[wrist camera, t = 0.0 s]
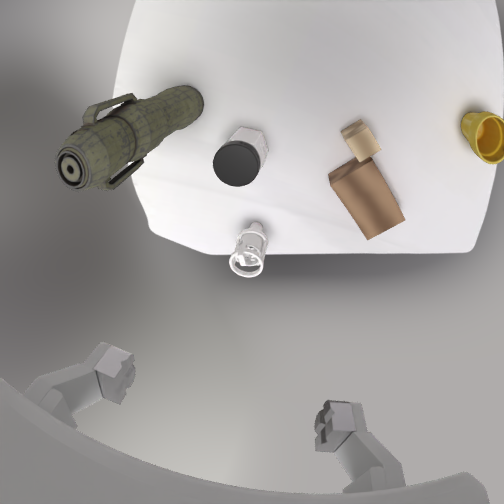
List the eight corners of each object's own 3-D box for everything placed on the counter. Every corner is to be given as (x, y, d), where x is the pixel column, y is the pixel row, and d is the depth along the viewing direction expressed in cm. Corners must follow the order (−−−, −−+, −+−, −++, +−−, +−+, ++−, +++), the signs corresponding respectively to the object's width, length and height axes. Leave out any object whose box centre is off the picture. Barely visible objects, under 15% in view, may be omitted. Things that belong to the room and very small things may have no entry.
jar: (272, 159, 57) (265, 183, 48) (237, 168, 59) (223, 193, 50) (259, 121, 52) (249, 136, 43) (222, 132, 54) (204, 149, 45)
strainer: (266, 213, 65) (256, 253, 54) (273, 237, 69) (265, 279, 58) (238, 217, 68) (223, 257, 56) (247, 240, 72) (234, 282, 60)
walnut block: (366, 150, 52) (372, 160, 47) (398, 206, 58) (405, 220, 53) (328, 173, 57) (330, 185, 52) (363, 225, 63) (367, 240, 58)
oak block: (360, 119, 47) (367, 127, 42) (373, 139, 49) (381, 149, 44) (340, 131, 50) (345, 140, 45) (353, 150, 52) (359, 162, 47)
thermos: (199, 74, 47) (80, 109, 20) (208, 126, 54) (113, 211, 27) (161, 83, 49) (33, 132, 22) (171, 132, 56) (65, 216, 29)
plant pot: (447, 136, 44) (468, 151, 37) (461, 96, 38) (485, 105, 30) (478, 154, 44) (500, 172, 37) (492, 117, 37) (517, 130, 30)
